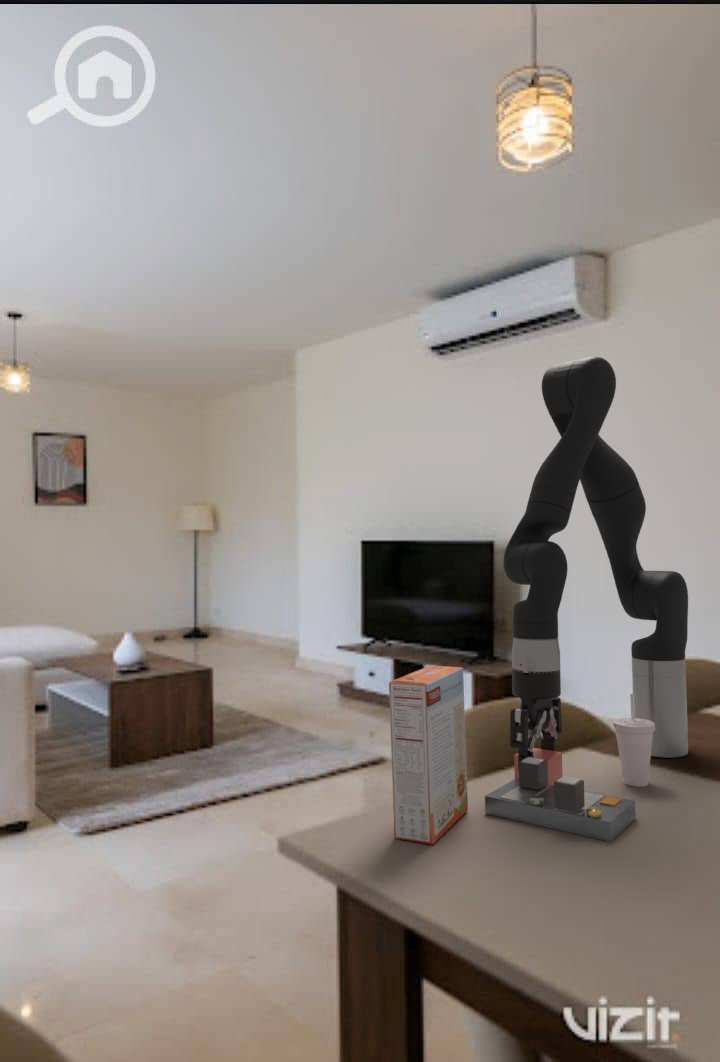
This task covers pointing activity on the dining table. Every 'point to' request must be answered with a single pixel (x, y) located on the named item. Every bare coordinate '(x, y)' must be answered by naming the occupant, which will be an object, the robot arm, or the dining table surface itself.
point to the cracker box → (428, 752)
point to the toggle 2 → (569, 794)
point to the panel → (562, 811)
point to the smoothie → (634, 747)
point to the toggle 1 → (533, 773)
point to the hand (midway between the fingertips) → (537, 768)
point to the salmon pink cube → (552, 764)
